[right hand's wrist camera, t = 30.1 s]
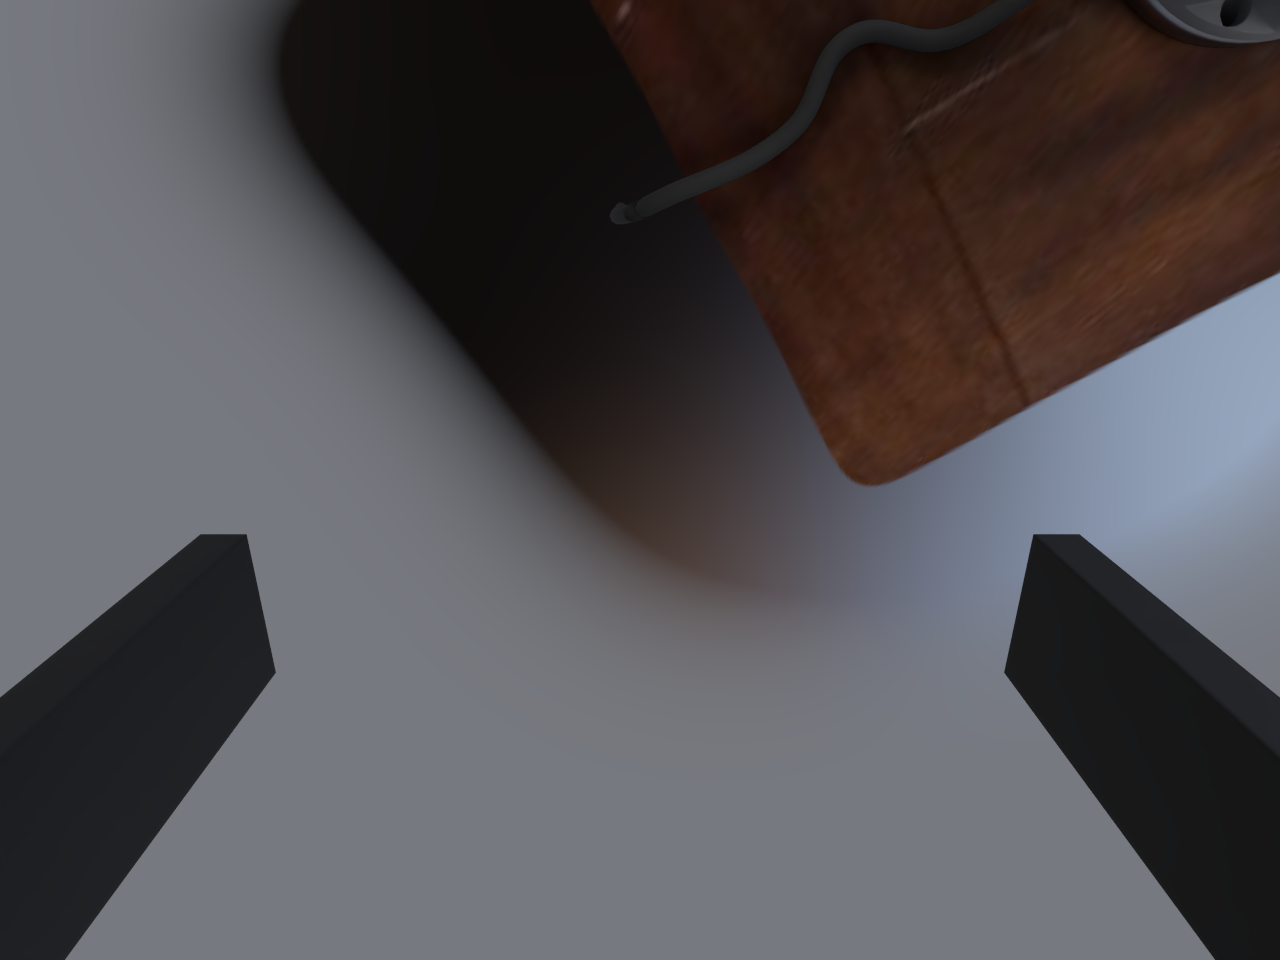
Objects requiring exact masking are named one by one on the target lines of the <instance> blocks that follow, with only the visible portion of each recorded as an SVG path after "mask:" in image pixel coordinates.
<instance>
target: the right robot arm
mask: <svg viewBox="0 0 1280 960" xmlns="http://www.w3.org/2000/svg"><path fill="white" fill-rule="evenodd" d="M1034 1H1036V0H996V1H994V2H993V3H992V4H990V5H989V6H987V7H986V8H984V9H983V10H981V11H979V12H978V13H976V14H974V15H973V16H971V17H969V18H967V19H965V20H963V21H961V22H959V23H956V24H953V25H951V26H948V27H944V28H939V29H921V28H915V27H911V26H908V25H904V24H900V23H897V22H893V21H887V20H878V19H873V20H865V21H861V22H858V23H855V24H853V25H851V26H849V27H847V28H845V29H844V30H842V31H841V32H840V33H838V34H837V35H836V36H835V37H834V38H833V39H832V40H831V41H830V42H829V43H828V44H827V45H826V47H825V48H824V50H823V51H822V53H821V54H820V56H819V58H818V60H817V62H816V64H815V66H814V69H813V71H812V74H811V76H810V79H809V82H808V84H807V87H806V90H805V92H804V95H803V97H802V99H801V102H800V104H799V105H798V107H797V109H796V111H795V112H794V113H793V115H792V116H791V117H790V118H789V119H788V120H787V122H785V123H784V124H783V125H782V126H781V127H780V128H779V129H778V130H776V131H775V132H774V133H773V134H771V135H770V136H769V137H767V138H766V139H765V140H763V141H762V142H760V143H759V144H757V145H756V146H754V147H752V148H751V149H749V150H747V151H745V152H744V153H742V154H740V155H738V156H736V157H734V158H732V159H729V160H727V161H725V162H723V163H720V164H718V165H715V166H713V167H711V168H708V169H706V170H703V171H700V172H698V173H695V174H693V175H690V176H688V177H685V178H683V179H681V180H678V181H676V182H673V183H671V184H669V185H667V186H665V187H663V188H661V189H659V190H656V191H655V192H653V193H651V194H649V195H647V196H645V197H643V198H641V199H639V200H637V201H635V202H633V203H631V204H629V205H625V204H624V203H618V204H617V205H616V207H615V208H614V209H613V210H612V211H611V214H610V218H611V220H612V222H614V223H615V224H627V223H631V222H637V221H639V220H642V219H644V218H646V217H649V216H651V215H653V214H655V213H657V212H659V211H661V210H663V209H665V208H667V207H669V206H672V205H674V204H676V203H678V202H681V201H683V200H686V199H688V198H691V197H693V196H696V195H698V194H701V193H703V192H706V191H709V190H711V189H714V188H716V187H719V186H721V185H723V184H726V183H728V182H731V181H733V180H735V179H737V178H739V177H742V176H744V175H746V174H748V173H749V172H751V171H753V170H755V169H757V168H759V167H760V166H762V165H764V164H765V163H767V162H768V161H770V160H771V159H773V158H774V157H776V156H777V155H778V154H780V153H781V152H782V151H784V150H785V149H786V148H787V147H789V146H790V145H791V144H792V143H793V142H794V141H795V140H797V139H798V138H799V137H800V136H801V135H802V134H803V133H804V131H805V130H806V129H807V128H808V126H809V125H810V124H811V122H812V121H813V119H814V117H815V115H816V114H817V112H818V110H819V108H820V105H821V103H822V101H823V98H824V96H825V93H826V90H827V88H828V85H829V83H830V80H831V77H832V75H833V73H834V71H835V69H836V67H837V65H838V64H839V62H840V61H841V60H842V58H843V57H844V56H845V55H846V54H847V53H848V52H850V51H851V50H853V49H854V48H856V47H858V46H860V45H863V44H866V43H882V44H887V45H891V46H895V47H898V48H902V49H906V50H910V51H916V52H925V53H928V52H939V51H944V50H948V49H952V48H955V47H958V46H960V45H963V44H965V43H967V42H970V41H972V40H974V39H976V38H978V37H979V36H981V35H983V34H985V33H986V32H988V31H989V30H991V29H993V28H994V27H996V26H997V25H999V24H1000V23H1002V22H1003V21H1005V20H1006V19H1008V18H1009V17H1011V16H1012V15H1014V14H1015V13H1017V12H1018V11H1020V10H1021V9H1023V8H1024V7H1026V6H1028V5H1029V4H1031V3H1033V2H1034ZM1126 1H1127V2H1128V4H1129V5H1130V6H1131V7H1132V8H1133V9H1134V10H1135V11H1136V13H1137V14H1138V15H1139V16H1140V17H1142V18H1143V19H1144V20H1145V21H1146V22H1147V23H1149V24H1150V25H1151V26H1153V27H1154V28H1156V29H1157V30H1159V31H1160V32H1162V33H1164V34H1166V35H1168V36H1170V37H1172V38H1174V39H1177V40H1179V41H1182V42H1185V43H1188V44H1193V45H1198V46H1202V47H1213V48H1233V47H1241V46H1248V45H1253V44H1258V43H1262V42H1267V41H1272V40H1276V39H1280V0H1126ZM275 673H276V672H275V667H274V662H273V657H272V653H271V648H270V643H269V638H268V634H267V629H266V624H265V620H264V615H263V610H262V605H261V601H260V596H259V591H258V586H257V582H256V577H255V572H254V568H253V563H252V558H251V554H250V549H249V544H248V540H247V535H246V534H201V535H199V536H198V537H197V538H196V539H194V540H193V541H192V542H191V543H190V544H188V545H187V546H186V547H185V548H183V549H182V550H181V551H180V552H178V553H177V554H176V555H175V556H173V557H172V558H171V559H170V560H169V561H167V562H166V563H165V564H164V565H163V566H161V567H160V568H159V569H158V570H156V571H155V572H154V573H153V574H151V575H150V576H149V577H148V578H146V579H145V580H144V581H143V582H142V583H140V584H139V585H138V586H137V587H135V588H134V589H133V590H132V591H131V592H129V593H128V594H127V595H126V596H124V597H123V598H122V599H121V600H119V601H118V602H117V603H116V604H115V605H113V606H112V607H111V608H110V609H108V610H107V611H106V612H105V613H103V614H102V615H101V616H100V617H99V618H97V619H96V620H95V621H94V622H92V623H91V624H90V625H89V626H88V627H86V628H85V629H84V630H83V631H81V632H80V633H79V634H78V635H76V636H75V637H74V638H73V639H72V640H70V641H69V642H68V643H67V644H65V645H64V646H63V647H62V648H61V649H59V650H58V651H57V652H56V653H54V654H53V655H52V656H51V657H49V658H48V659H47V660H46V661H45V662H43V663H42V664H41V665H40V666H38V667H37V668H36V669H35V670H34V671H32V672H31V673H30V674H29V675H27V676H26V677H25V678H24V679H22V680H21V681H20V682H19V683H18V684H16V685H15V686H14V687H13V688H11V689H10V690H9V691H8V692H6V693H5V694H4V695H3V696H2V697H0V960H65V959H66V957H67V956H68V955H69V953H70V952H71V951H72V949H73V948H74V947H75V945H76V944H77V942H78V941H79V940H80V938H81V937H82V936H83V934H84V933H85V931H86V930H87V929H88V927H89V926H90V925H91V923H92V922H93V921H94V919H95V918H96V917H97V915H98V914H99V913H100V911H101V910H102V908H103V907H104V906H105V904H106V903H107V902H108V900H109V899H110V898H111V896H112V895H113V893H114V892H115V891H116V889H117V888H118V887H119V885H120V884H121V883H122V881H123V880H124V878H125V877H126V876H127V874H128V873H129V872H130V870H131V869H132V868H133V866H134V865H135V863H136V862H137V861H138V859H139V858H140V857H141V855H142V854H143V853H144V851H145V850H146V848H147V847H148V846H149V844H150V843H151V842H152V840H153V839H154V838H155V836H156V835H157V834H158V832H159V831H160V829H161V828H162V827H163V825H164V824H165V823H166V821H167V820H168V819H169V817H170V816H171V814H172V813H173V812H174V810H175V809H176V808H177V806H178V805H179V804H180V802H181V801H182V799H183V798H184V797H185V795H186V794H187V793H188V791H189V790H190V789H191V787H192V786H193V784H194V783H195V782H196V780H197V779H198V778H199V776H200V775H201V774H202V772H203V771H204V770H205V768H206V767H207V765H208V764H209V763H210V761H211V760H212V759H213V757H214V756H215V755H216V753H217V752H218V750H219V749H220V748H221V746H222V745H223V744H224V742H225V741H226V740H227V738H228V737H229V735H230V734H231V733H232V731H233V730H234V729H235V727H236V726H237V725H238V723H239V722H240V720H241V719H242V718H243V716H244V715H245V714H246V712H247V711H248V710H249V708H250V707H251V706H252V704H253V703H254V701H255V700H256V699H257V697H258V696H259V695H260V693H261V692H262V691H263V689H264V688H265V686H266V685H267V684H268V682H269V681H270V680H271V678H272V677H273V676H274V674H275ZM1004 673H1005V674H1006V676H1007V677H1008V678H1009V680H1010V681H1011V682H1012V684H1013V685H1014V686H1015V688H1016V689H1017V691H1018V692H1019V693H1020V695H1021V696H1022V697H1023V699H1024V700H1025V701H1026V703H1027V704H1028V705H1029V707H1030V708H1031V710H1032V711H1033V712H1034V714H1035V715H1036V716H1037V718H1038V719H1039V721H1040V722H1041V723H1042V725H1043V726H1044V727H1045V729H1046V730H1047V731H1048V733H1049V734H1050V735H1051V737H1052V738H1053V740H1054V741H1055V742H1056V744H1057V745H1058V746H1059V748H1060V749H1061V750H1062V752H1063V753H1064V755H1065V756H1066V757H1067V759H1068V760H1069V761H1070V763H1071V764H1072V765H1073V767H1074V768H1075V770H1076V771H1077V772H1078V774H1079V775H1080V776H1081V778H1082V779H1083V780H1084V782H1085V783H1086V784H1087V786H1088V787H1089V789H1090V790H1091V791H1092V793H1093V794H1094V795H1095V797H1096V798H1097V799H1098V801H1099V802H1100V804H1101V805H1102V806H1103V808H1104V809H1105V810H1106V812H1107V813H1108V814H1109V816H1110V817H1111V819H1112V820H1113V821H1114V823H1115V824H1116V825H1117V827H1118V828H1119V829H1120V831H1121V832H1122V834H1123V835H1124V836H1125V838H1126V839H1127V840H1128V842H1129V843H1130V844H1131V846H1132V847H1133V848H1134V850H1135V851H1136V853H1137V854H1138V855H1139V857H1140V858H1141V859H1142V861H1143V862H1144V863H1145V865H1146V866H1147V868H1148V869H1149V870H1150V872H1151V873H1152V874H1153V876H1154V877H1155V878H1156V880H1157V881H1158V883H1159V884H1160V885H1161V887H1162V888H1163V889H1164V891H1165V892H1166V893H1167V895H1168V896H1169V898H1170V899H1171V900H1172V902H1173V903H1174V904H1175V906H1176V907H1177V908H1178V910H1179V911H1180V913H1181V914H1182V915H1183V917H1184V918H1185V919H1186V921H1187V922H1188V923H1189V925H1190V926H1191V927H1192V929H1193V930H1194V932H1195V933H1196V934H1197V936H1198V937H1199V938H1200V940H1201V941H1202V942H1203V944H1204V945H1205V946H1206V948H1207V949H1208V951H1209V952H1210V953H1211V955H1212V956H1213V957H1214V959H1215V960H1280V697H1278V696H1277V695H1276V694H1275V693H1274V692H1272V691H1271V690H1270V689H1269V688H1267V687H1266V686H1265V685H1264V684H1262V683H1261V682H1260V681H1259V680H1258V679H1256V678H1255V677H1254V676H1253V675H1251V674H1250V673H1249V672H1248V671H1246V670H1245V669H1244V668H1243V667H1242V666H1240V665H1239V664H1238V663H1237V662H1235V661H1234V660H1233V659H1232V658H1231V657H1229V656H1228V655H1227V654H1226V653H1224V652H1223V651H1222V650H1221V649H1220V648H1218V647H1217V646H1216V645H1215V644H1213V643H1212V642H1211V641H1210V640H1208V639H1207V638H1206V637H1205V636H1204V635H1202V634H1201V633H1200V632H1199V631H1197V630H1196V629H1195V628H1194V627H1192V626H1191V625H1190V624H1189V623H1188V622H1186V621H1185V620H1184V619H1183V618H1181V617H1180V616H1179V615H1178V614H1176V613H1175V612H1174V611H1173V610H1172V609H1170V608H1169V607H1168V606H1167V605H1165V604H1164V603H1163V602H1162V601H1161V600H1159V599H1158V598H1157V597H1156V596H1154V595H1153V594H1152V593H1151V592H1149V591H1148V590H1147V589H1146V588H1145V587H1143V586H1142V585H1141V584H1140V583H1138V582H1137V581H1136V580H1135V579H1134V578H1132V577H1131V576H1130V575H1129V574H1127V573H1126V572H1125V571H1124V570H1122V569H1121V568H1120V567H1119V566H1118V565H1116V564H1115V563H1114V562H1113V561H1111V560H1110V559H1109V558H1108V557H1107V556H1105V555H1104V554H1103V553H1102V552H1100V551H1099V550H1098V549H1097V548H1095V547H1094V546H1093V545H1092V544H1091V543H1089V542H1088V541H1087V540H1086V539H1084V538H1083V537H1082V536H1081V535H1079V534H1034V535H1033V539H1032V544H1031V549H1030V553H1029V558H1028V563H1027V568H1026V572H1025V577H1024V582H1023V586H1022V591H1021V596H1020V601H1019V605H1018V610H1017V615H1016V620H1015V624H1014V629H1013V634H1012V638H1011V644H1010V648H1009V653H1008V657H1007V662H1006V667H1005V672H1004Z"/></svg>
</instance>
